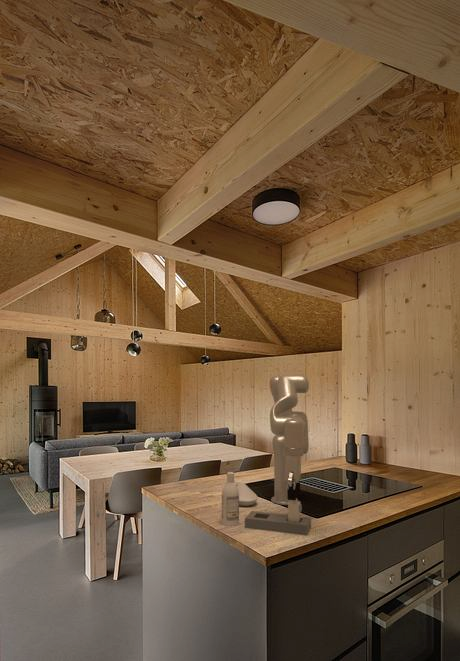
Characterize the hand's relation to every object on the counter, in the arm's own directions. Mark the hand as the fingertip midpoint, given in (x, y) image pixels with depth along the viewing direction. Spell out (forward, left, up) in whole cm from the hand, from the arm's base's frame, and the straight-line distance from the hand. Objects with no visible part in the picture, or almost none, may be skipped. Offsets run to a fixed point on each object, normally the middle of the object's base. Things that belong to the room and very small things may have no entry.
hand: (294, 496), depth 161 cm
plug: (+1, 0, -12) cm, 12 cm away
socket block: (+1, -6, -13) cm, 14 cm away
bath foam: (+3, -25, -13) cm, 28 cm away
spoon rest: (-31, -30, -13) cm, 46 cm away
